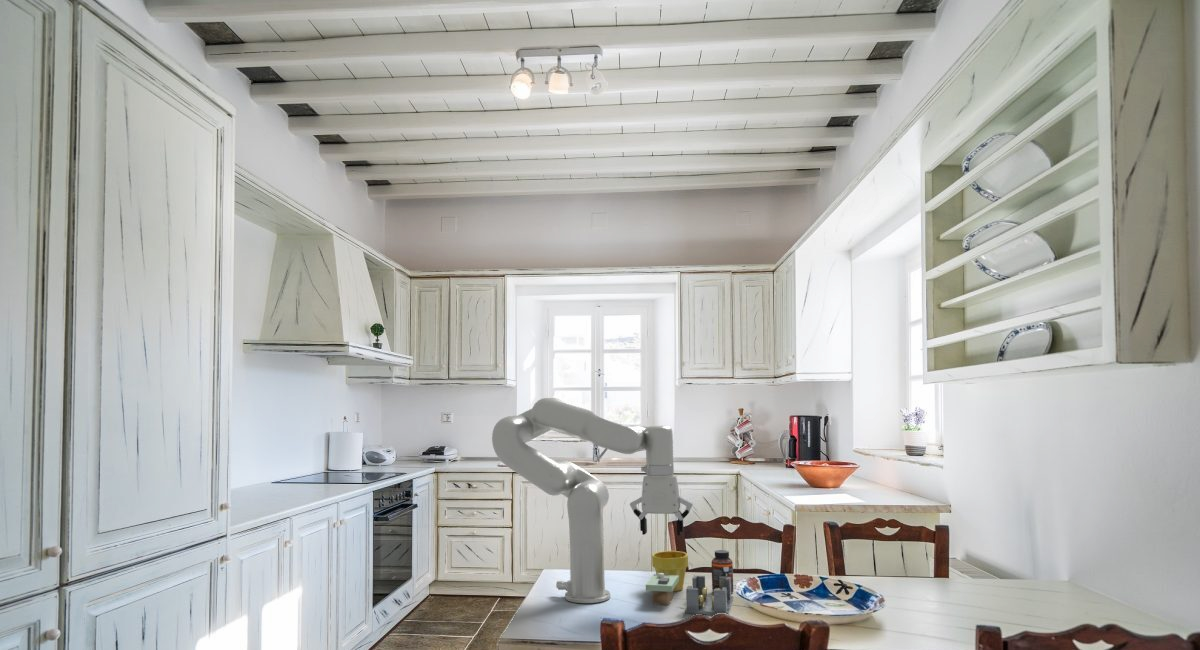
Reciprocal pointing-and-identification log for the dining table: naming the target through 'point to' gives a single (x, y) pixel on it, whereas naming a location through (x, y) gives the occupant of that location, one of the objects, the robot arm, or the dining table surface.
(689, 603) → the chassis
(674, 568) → the plant pot
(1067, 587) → the dining table surface
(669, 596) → the wooden block
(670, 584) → the board
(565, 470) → the robot arm
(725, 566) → the supplement bottle
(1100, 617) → the dining table surface
